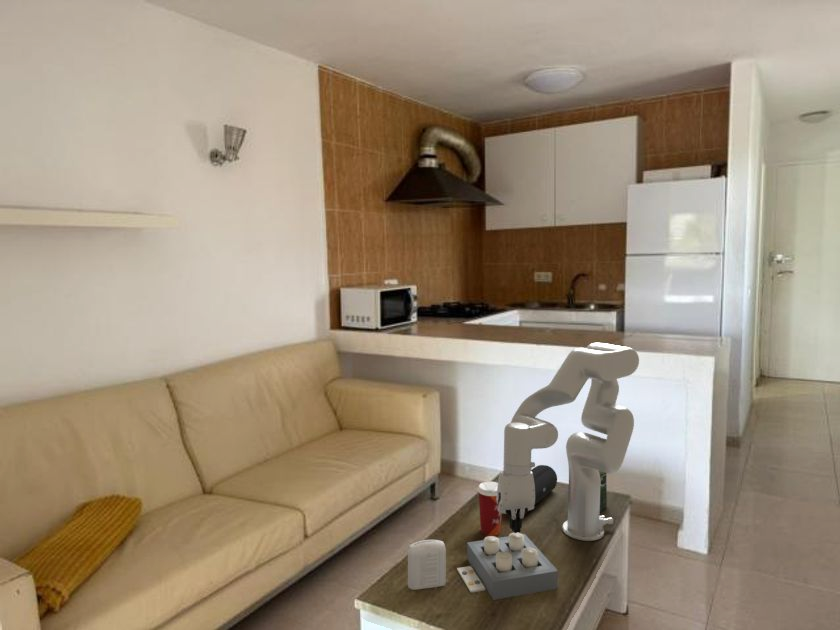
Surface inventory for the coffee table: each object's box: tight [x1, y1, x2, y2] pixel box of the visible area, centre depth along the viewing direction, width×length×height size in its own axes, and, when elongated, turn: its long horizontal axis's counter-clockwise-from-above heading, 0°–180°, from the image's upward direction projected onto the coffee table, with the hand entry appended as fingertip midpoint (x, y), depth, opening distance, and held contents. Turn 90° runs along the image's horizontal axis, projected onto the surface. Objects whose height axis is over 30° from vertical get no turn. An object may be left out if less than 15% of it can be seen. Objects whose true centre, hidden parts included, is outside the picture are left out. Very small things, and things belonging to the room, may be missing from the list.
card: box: [457, 565, 486, 593], centre depth 154 cm, size 4×11×1 cm, turn 15°
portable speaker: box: [515, 464, 558, 513], centre depth 200 cm, size 26×10×10 cm, turn 143°
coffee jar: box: [598, 470, 608, 512], centre depth 195 cm, size 10×8×19 cm
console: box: [466, 533, 559, 601], centre depth 156 cm, size 18×20×5 cm
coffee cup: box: [477, 481, 502, 537], centre depth 179 cm, size 8×8×15 cm
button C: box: [483, 536, 499, 556], centre depth 159 cm, size 4×4×5 cm
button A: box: [508, 532, 524, 552], centre depth 161 cm, size 4×4×5 cm
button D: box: [495, 552, 513, 573], centre depth 151 cm, size 4×4×5 cm
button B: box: [521, 548, 538, 569], centre depth 153 cm, size 4×4×5 cm
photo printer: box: [407, 539, 447, 591], centre depth 151 cm, size 10×4×12 cm, turn 103°
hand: (515, 530), depth 160 cm, fingers closed
